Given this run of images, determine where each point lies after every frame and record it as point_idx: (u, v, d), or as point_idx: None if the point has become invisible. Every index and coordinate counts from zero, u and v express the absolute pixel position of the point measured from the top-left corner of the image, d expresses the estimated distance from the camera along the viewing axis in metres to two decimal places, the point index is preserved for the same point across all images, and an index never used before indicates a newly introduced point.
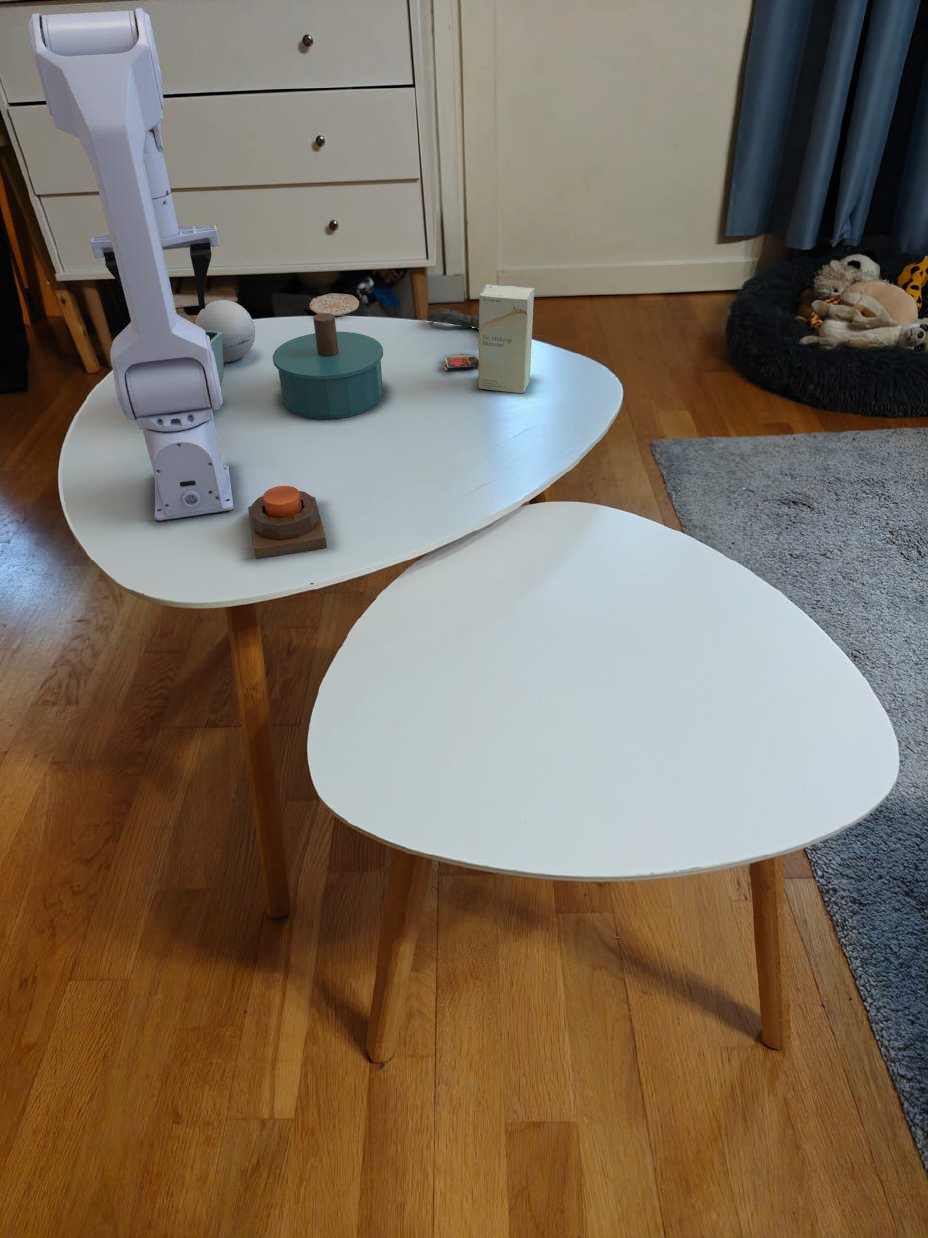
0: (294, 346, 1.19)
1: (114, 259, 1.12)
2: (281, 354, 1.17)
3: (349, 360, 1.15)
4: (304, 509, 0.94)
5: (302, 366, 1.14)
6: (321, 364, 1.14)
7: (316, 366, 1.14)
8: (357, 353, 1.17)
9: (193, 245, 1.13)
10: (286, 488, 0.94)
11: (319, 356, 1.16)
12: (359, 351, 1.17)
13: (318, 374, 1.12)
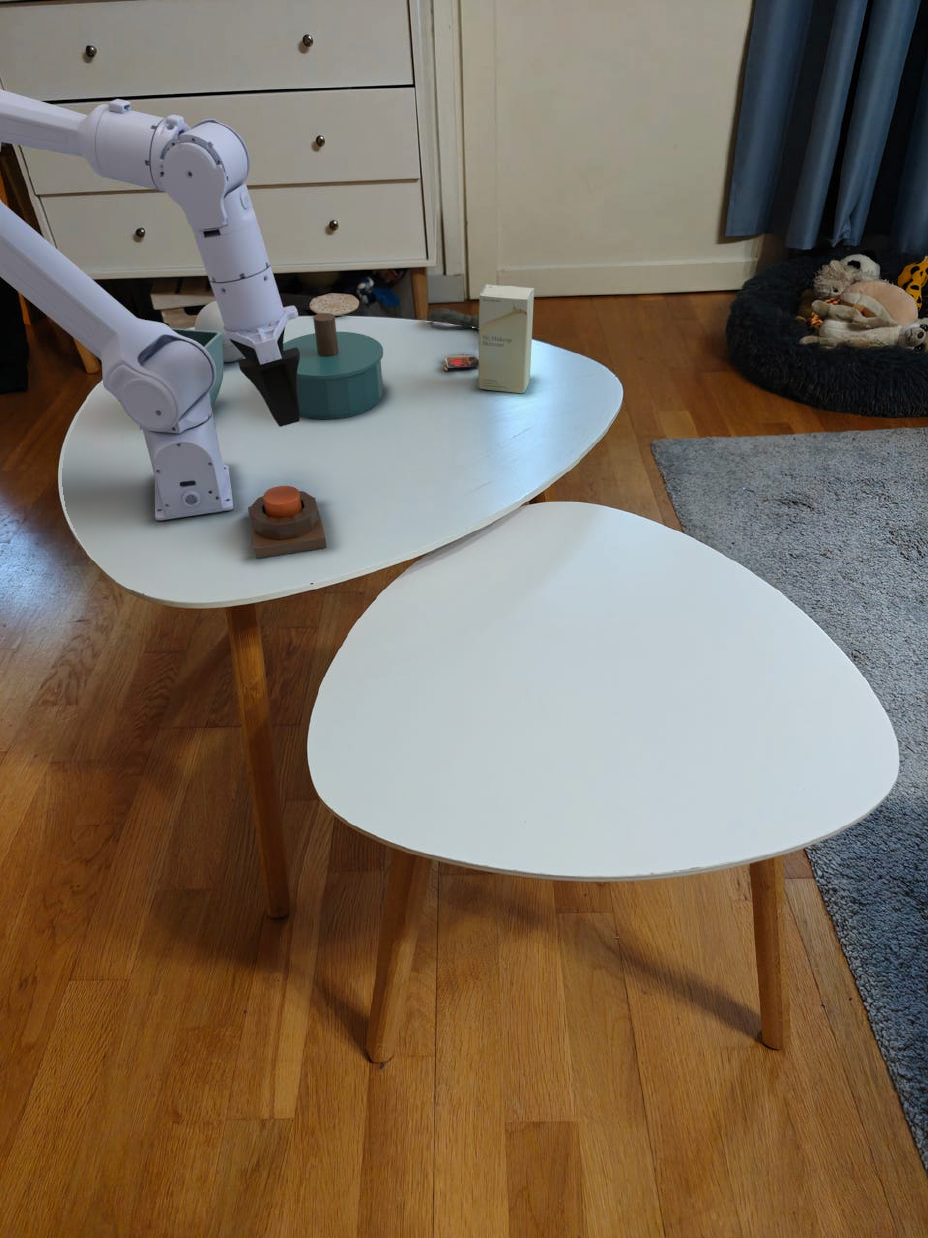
0: (294, 346, 1.19)
1: None
2: None
3: (349, 360, 1.15)
4: (304, 509, 0.94)
5: (302, 366, 1.14)
6: (321, 364, 1.14)
7: (316, 366, 1.14)
8: (357, 353, 1.17)
9: None
10: (286, 488, 0.94)
11: (319, 356, 1.16)
12: (359, 351, 1.17)
13: (318, 374, 1.12)
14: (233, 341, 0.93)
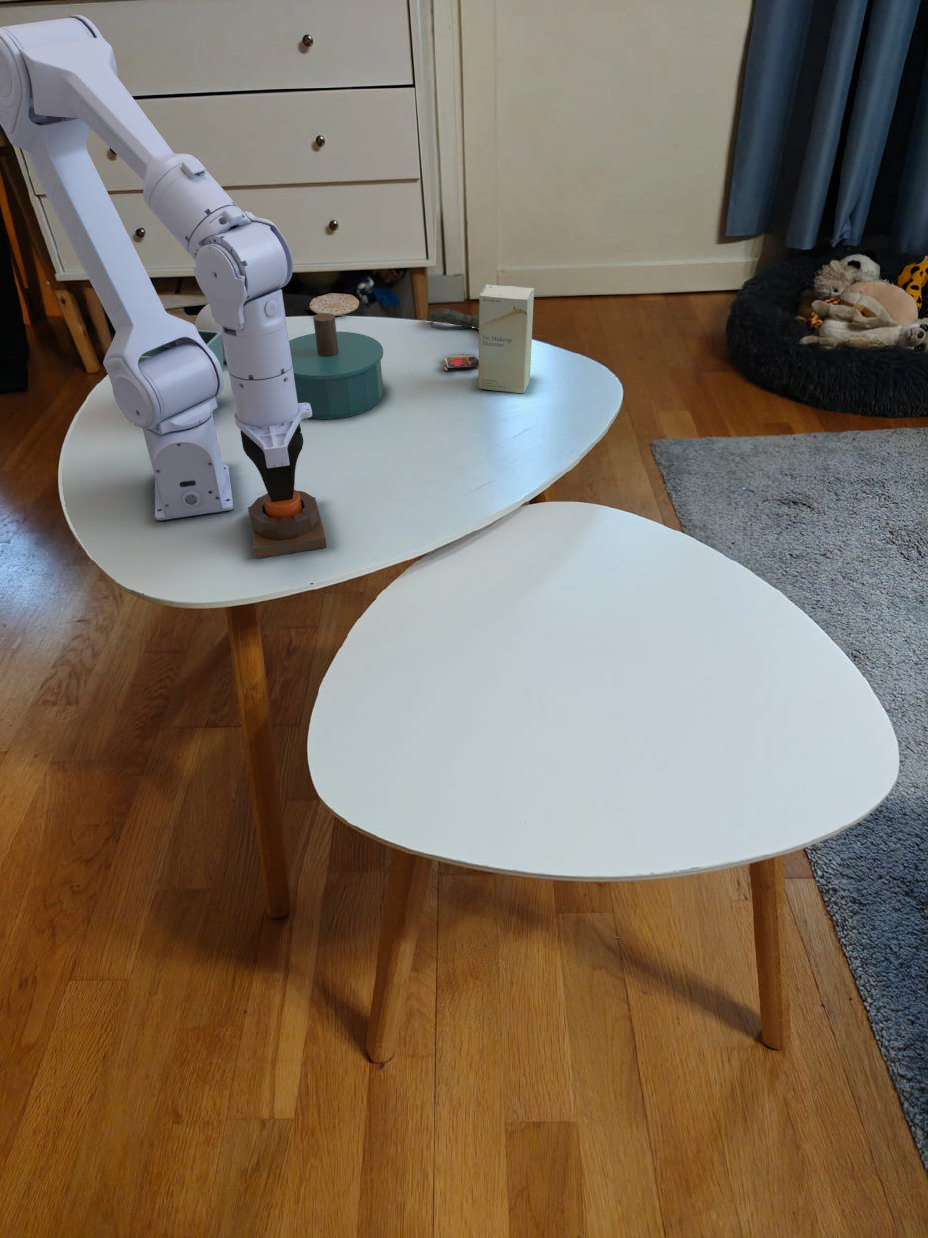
0: (294, 346, 1.19)
1: None
2: None
3: (349, 360, 1.15)
4: (304, 509, 0.94)
5: (302, 366, 1.14)
6: (321, 364, 1.14)
7: (316, 366, 1.14)
8: (357, 353, 1.17)
9: None
10: None
11: (319, 356, 1.16)
12: (359, 351, 1.17)
13: (318, 374, 1.12)
14: None
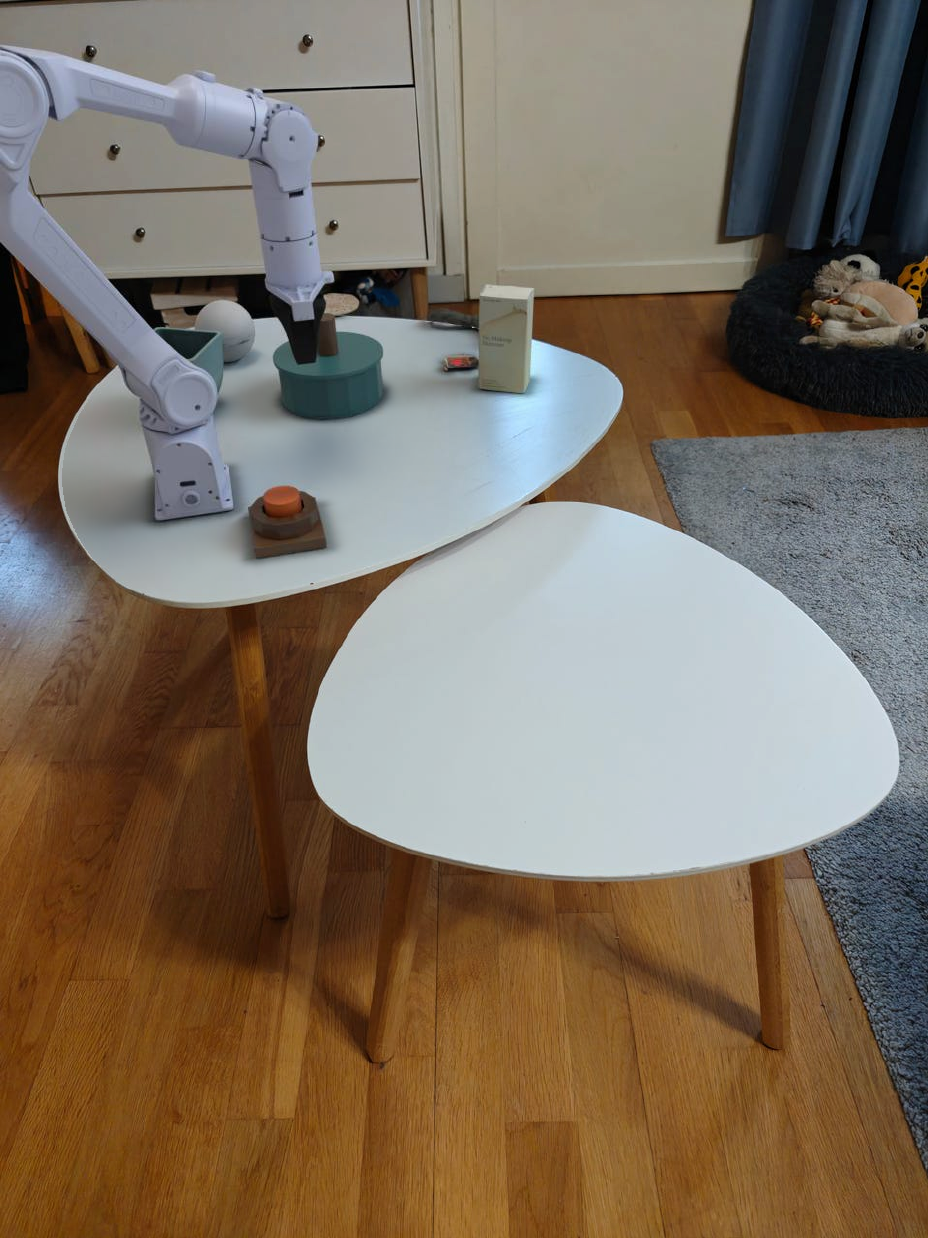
0: None
1: None
2: (281, 354, 1.17)
3: (349, 360, 1.15)
4: (304, 509, 0.94)
5: (302, 366, 1.14)
6: (321, 364, 1.14)
7: (316, 366, 1.14)
8: (357, 353, 1.17)
9: None
10: (286, 488, 0.94)
11: (319, 356, 1.16)
12: (359, 351, 1.17)
13: (318, 374, 1.12)
14: None
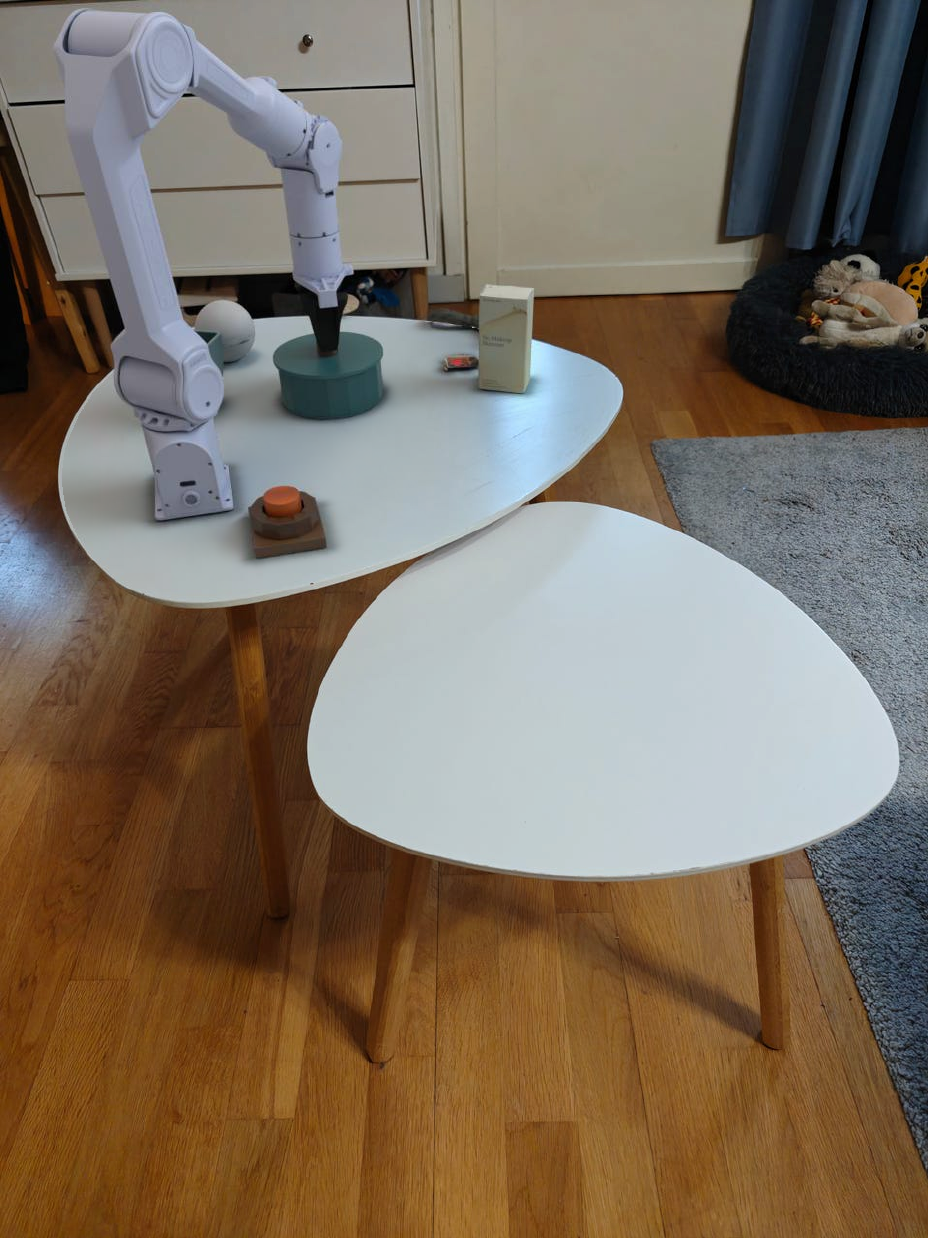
0: (294, 346, 1.19)
1: None
2: (281, 354, 1.17)
3: (349, 360, 1.15)
4: (304, 509, 0.94)
5: (302, 366, 1.14)
6: (321, 364, 1.14)
7: (316, 366, 1.14)
8: (357, 353, 1.17)
9: None
10: (286, 488, 0.94)
11: (319, 356, 1.16)
12: (359, 351, 1.17)
13: (318, 374, 1.12)
14: (298, 289, 1.13)
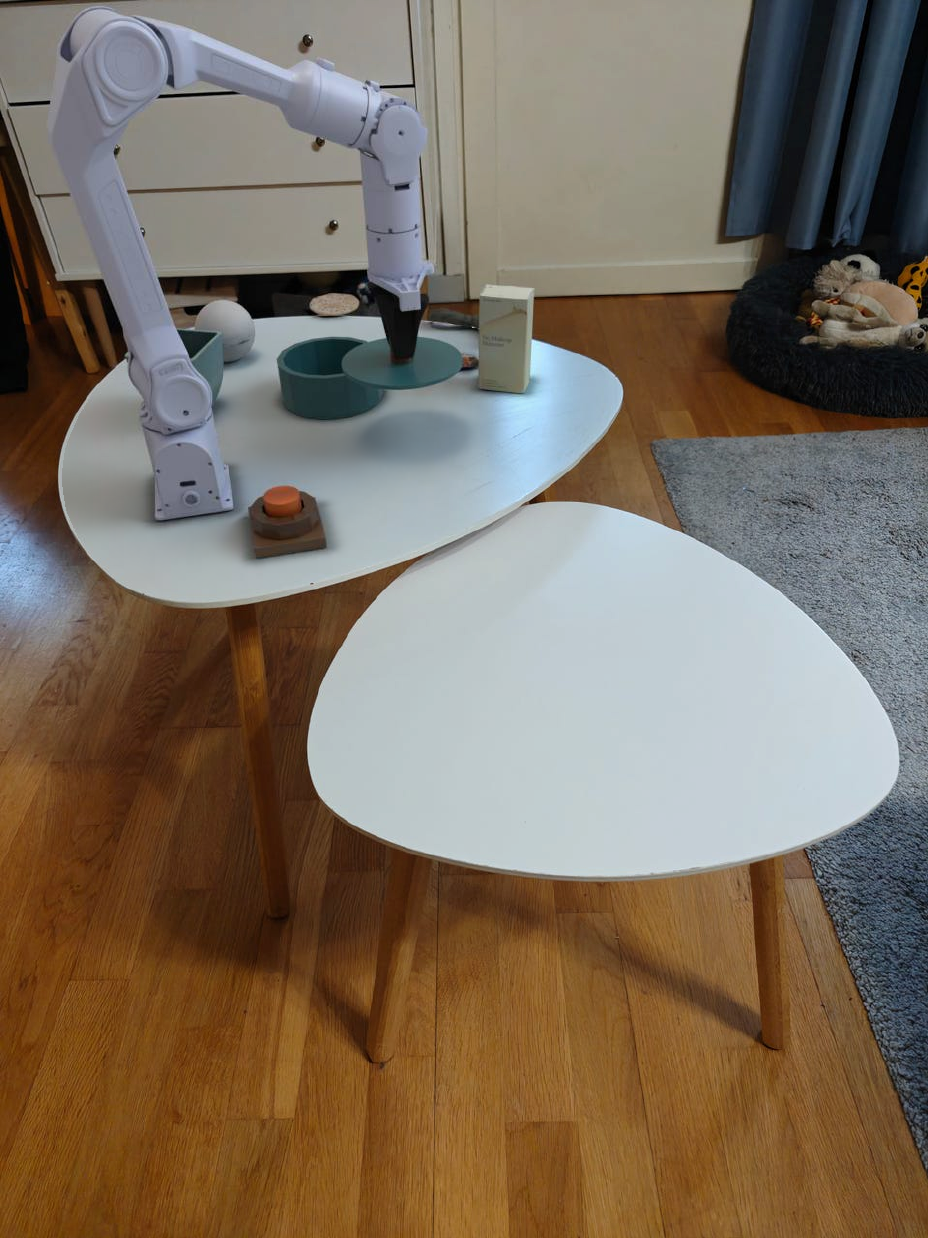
0: (363, 353, 1.08)
1: None
2: (350, 362, 1.06)
3: (427, 368, 1.04)
4: (304, 509, 0.94)
5: (376, 375, 1.03)
6: (396, 373, 1.03)
7: (391, 375, 1.03)
8: (434, 360, 1.06)
9: None
10: (286, 488, 0.94)
11: (393, 364, 1.05)
12: (436, 358, 1.06)
13: (395, 384, 1.01)
14: (371, 290, 1.02)
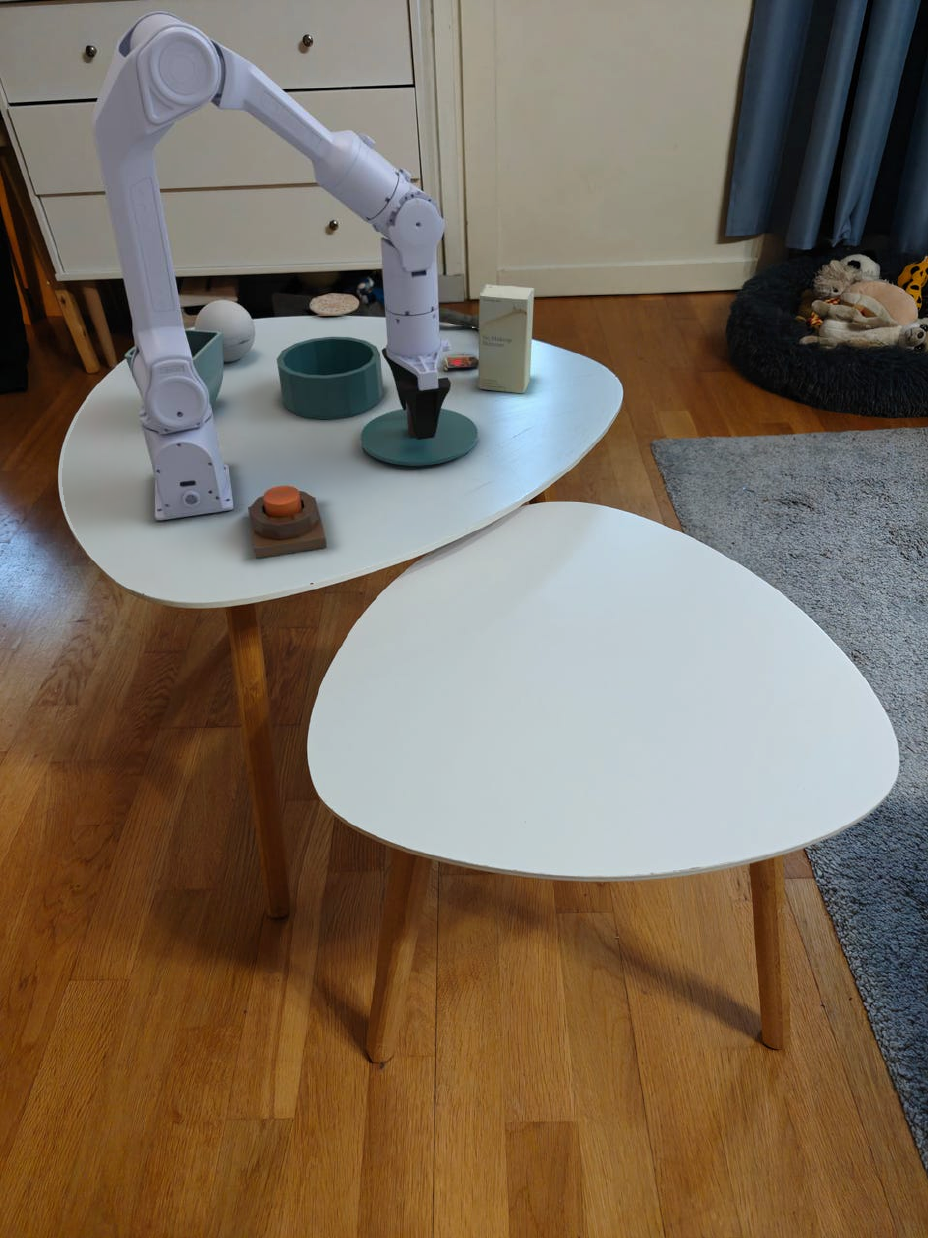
0: (382, 425, 1.12)
1: None
2: (369, 435, 1.10)
3: (444, 443, 1.08)
4: (304, 509, 0.94)
5: (394, 450, 1.07)
6: (414, 448, 1.07)
7: (409, 450, 1.07)
8: (450, 434, 1.10)
9: (415, 375, 1.01)
10: (286, 488, 0.94)
11: (410, 438, 1.09)
12: (452, 432, 1.10)
13: (413, 460, 1.05)
14: (386, 357, 1.07)
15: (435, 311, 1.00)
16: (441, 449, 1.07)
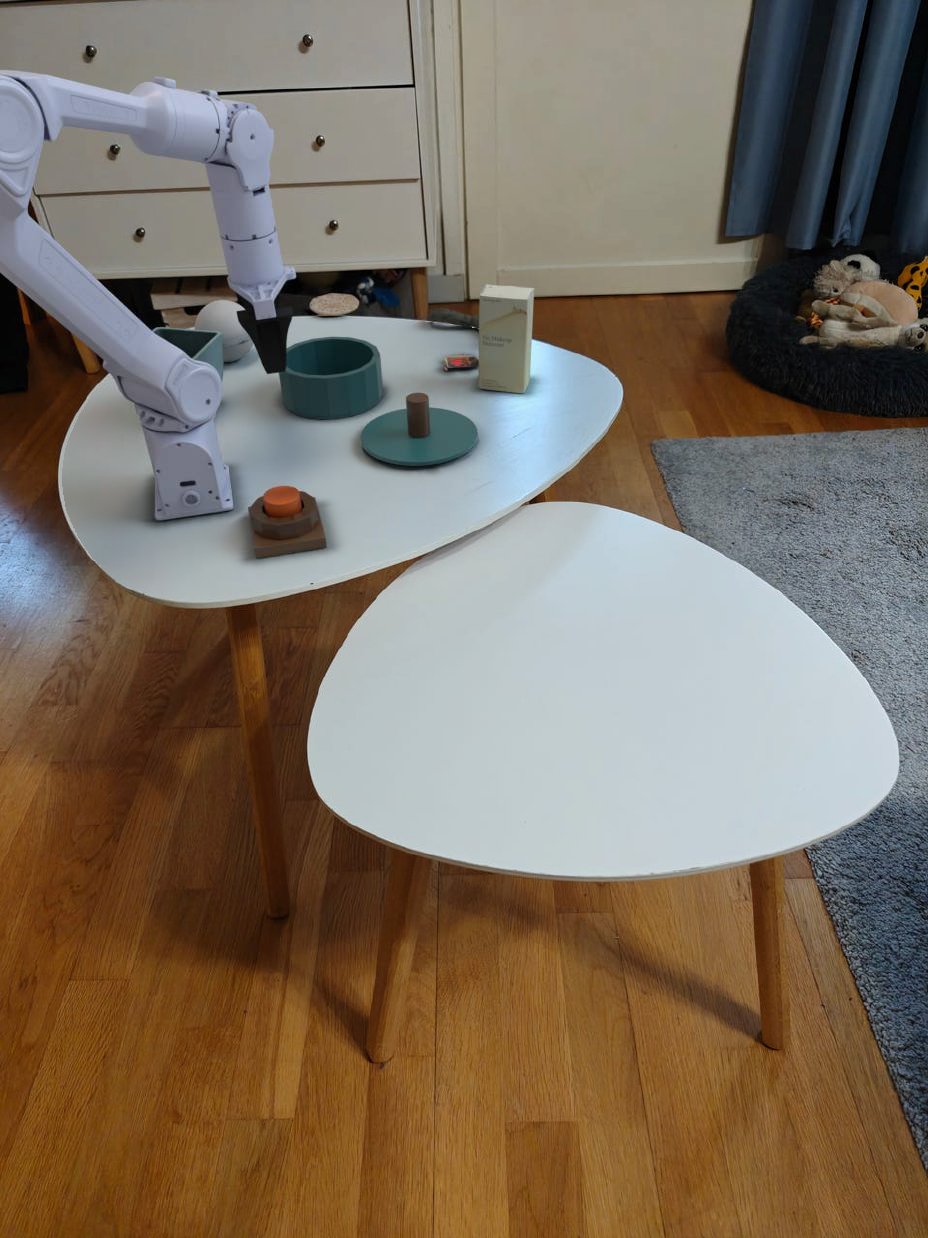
0: (382, 425, 1.12)
1: None
2: (369, 435, 1.10)
3: (444, 443, 1.08)
4: (304, 509, 0.94)
5: (394, 450, 1.07)
6: (414, 448, 1.07)
7: (409, 450, 1.07)
8: (450, 434, 1.10)
9: None
10: (286, 488, 0.94)
11: (410, 438, 1.09)
12: (452, 432, 1.10)
13: (413, 460, 1.05)
14: None
15: (271, 236, 0.95)
16: (441, 449, 1.07)
